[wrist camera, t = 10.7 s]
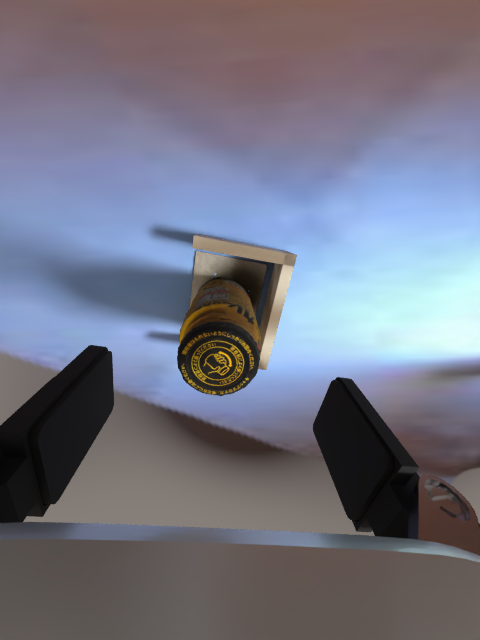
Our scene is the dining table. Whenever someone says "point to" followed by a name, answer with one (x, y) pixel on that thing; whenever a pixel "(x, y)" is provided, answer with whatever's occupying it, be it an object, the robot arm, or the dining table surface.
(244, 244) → the u rest
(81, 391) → the robot arm
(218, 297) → the condiment
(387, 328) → the dining table surface
